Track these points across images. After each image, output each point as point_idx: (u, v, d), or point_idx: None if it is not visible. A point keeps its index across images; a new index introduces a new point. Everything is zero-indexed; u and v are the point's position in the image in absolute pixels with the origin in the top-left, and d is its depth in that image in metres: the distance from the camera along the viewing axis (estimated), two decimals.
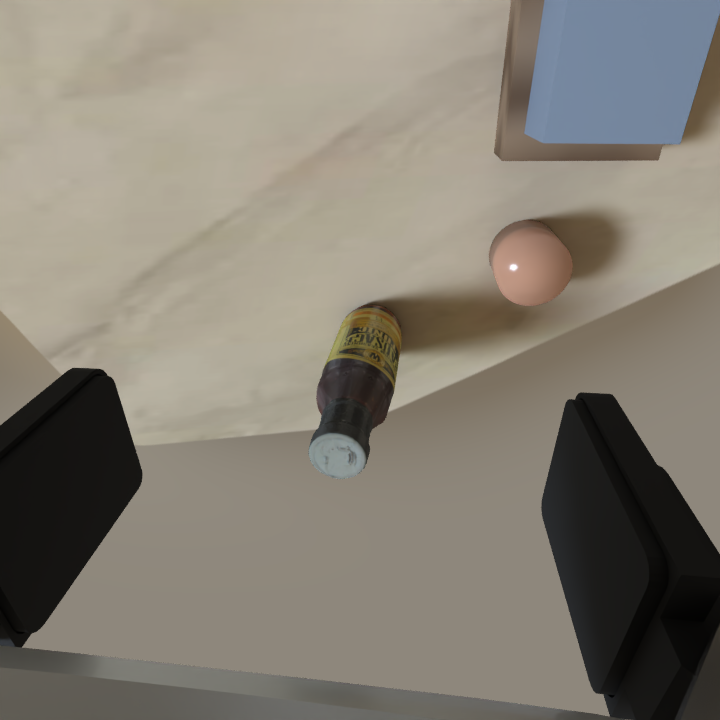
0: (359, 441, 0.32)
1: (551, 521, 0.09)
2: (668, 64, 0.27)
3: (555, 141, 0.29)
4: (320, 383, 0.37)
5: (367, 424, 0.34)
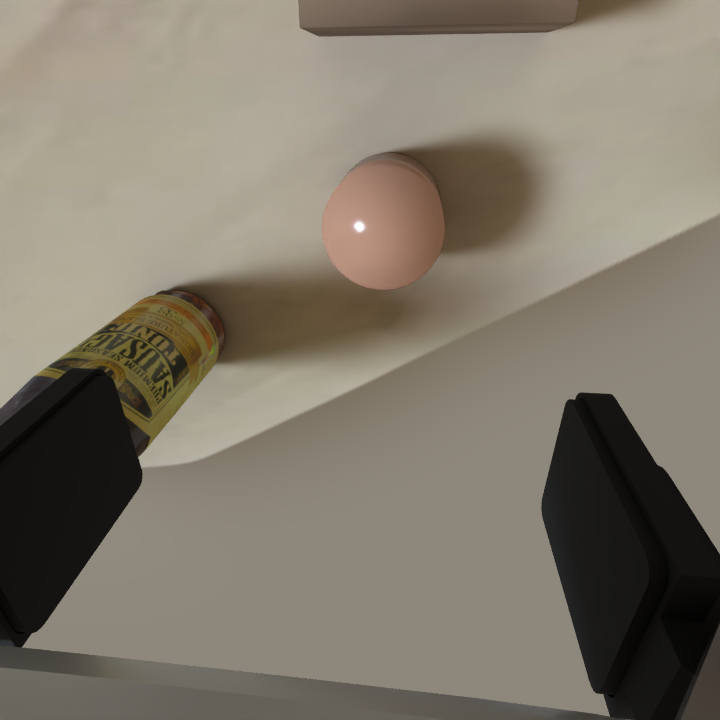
0: None
1: (551, 521, 0.09)
2: None
3: None
4: None
5: None
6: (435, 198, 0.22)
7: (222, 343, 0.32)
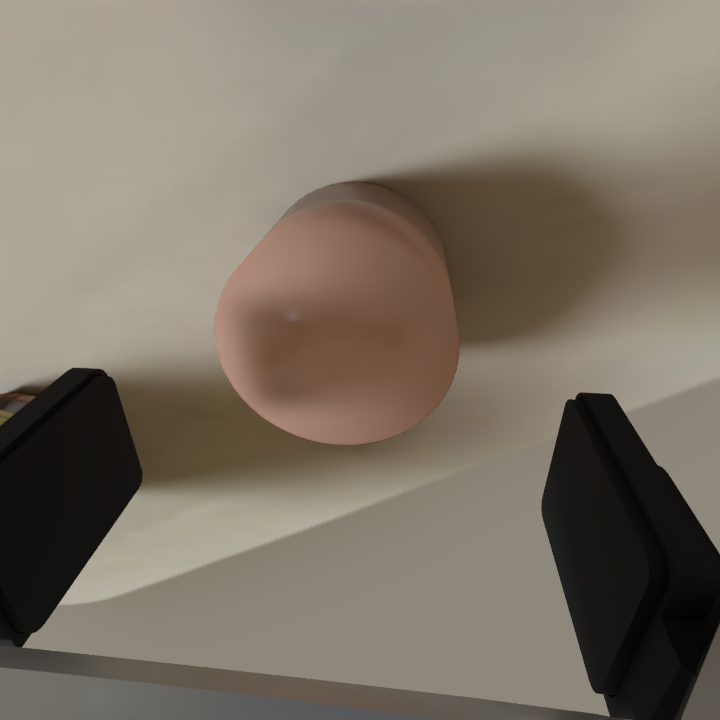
0: None
1: (551, 521, 0.09)
2: None
3: None
4: None
5: None
6: (440, 293, 0.11)
7: None
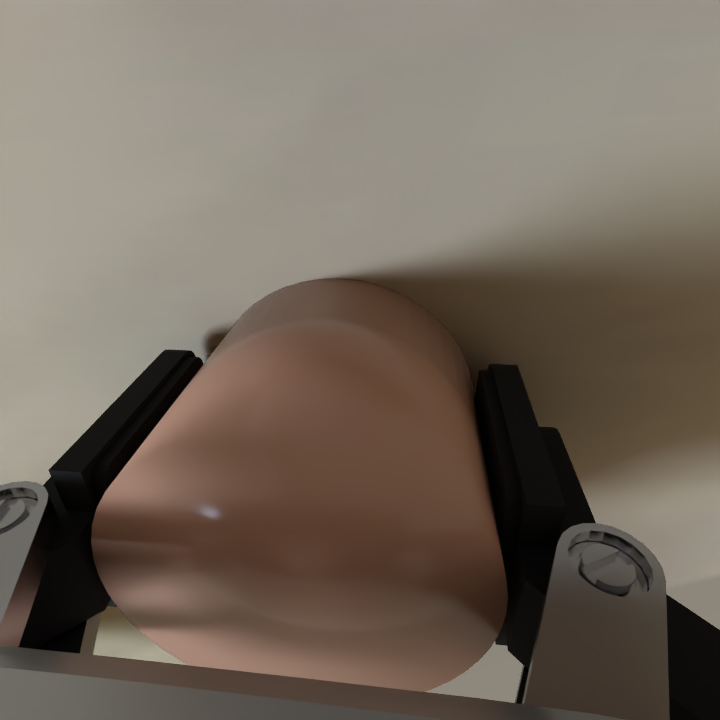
0: None
1: None
2: None
3: None
4: None
5: None
6: (479, 532, 0.06)
7: None
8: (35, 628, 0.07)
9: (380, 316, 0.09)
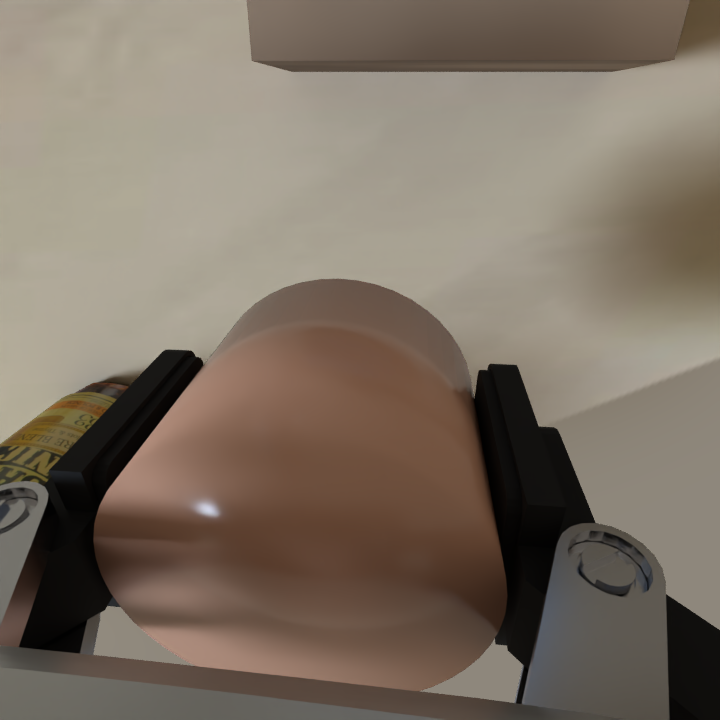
0: None
1: None
2: None
3: None
4: None
5: None
6: (478, 531, 0.06)
7: None
8: (35, 628, 0.07)
9: (380, 316, 0.09)
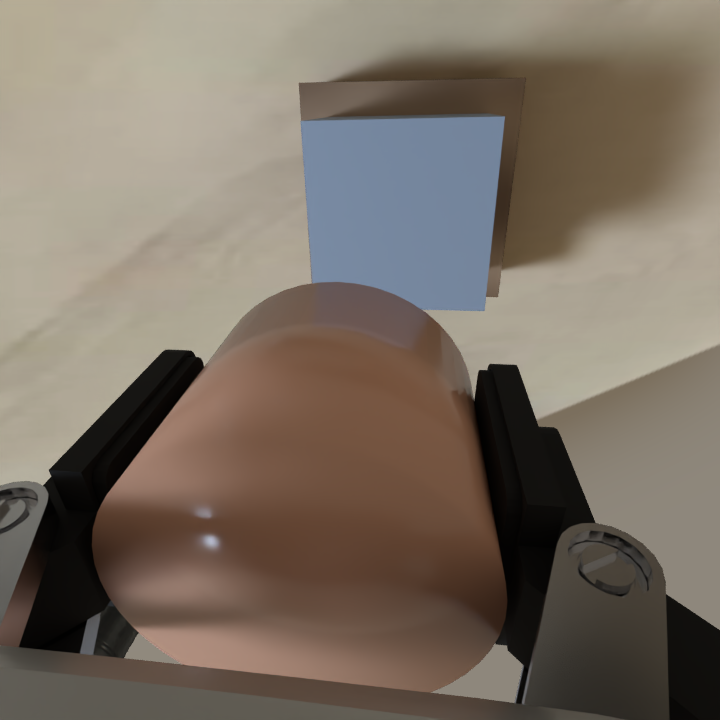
0: None
1: None
2: (447, 220, 0.20)
3: None
4: None
5: (125, 627, 0.27)
6: (478, 537, 0.06)
7: None
8: (35, 628, 0.07)
9: (380, 320, 0.09)
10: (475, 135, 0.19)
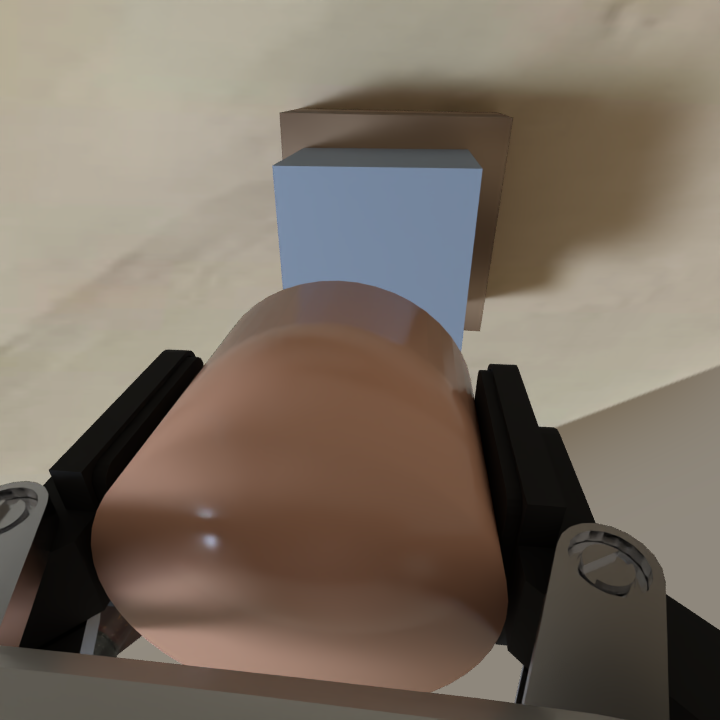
0: None
1: None
2: (424, 268, 0.20)
3: None
4: None
5: None
6: (479, 536, 0.06)
7: None
8: (35, 628, 0.07)
9: (380, 318, 0.09)
10: (452, 186, 0.18)
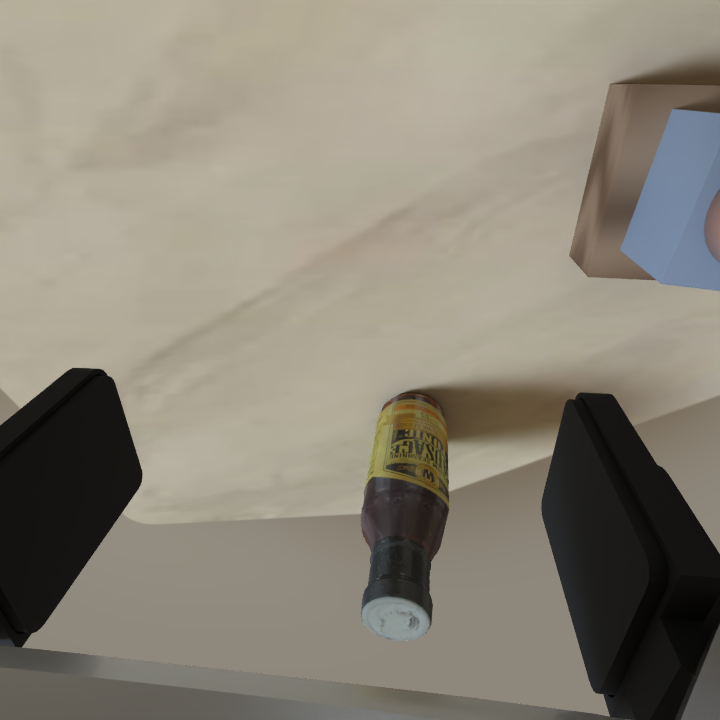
0: (424, 605, 0.27)
1: (551, 521, 0.09)
2: None
3: (675, 283, 0.25)
4: (367, 509, 0.32)
5: (427, 572, 0.29)
6: None
7: None
8: None
9: None
10: None
